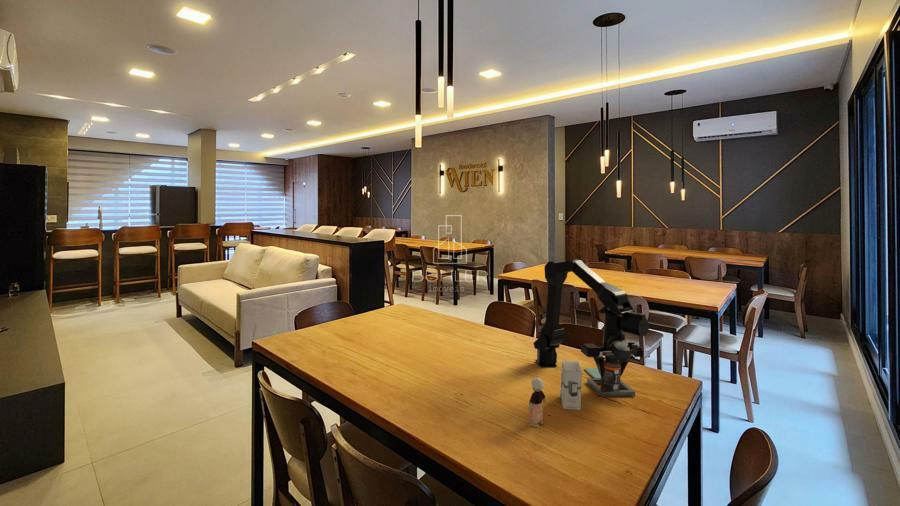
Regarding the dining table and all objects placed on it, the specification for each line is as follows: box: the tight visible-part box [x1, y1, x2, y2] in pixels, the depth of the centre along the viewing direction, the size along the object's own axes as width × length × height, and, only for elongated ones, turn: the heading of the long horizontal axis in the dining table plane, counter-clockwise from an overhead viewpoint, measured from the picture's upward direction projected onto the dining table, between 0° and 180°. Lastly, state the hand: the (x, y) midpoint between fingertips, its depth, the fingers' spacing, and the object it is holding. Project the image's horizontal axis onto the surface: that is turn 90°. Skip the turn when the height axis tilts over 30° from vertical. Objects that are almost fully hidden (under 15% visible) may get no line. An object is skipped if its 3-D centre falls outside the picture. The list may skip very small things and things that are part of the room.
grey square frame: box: [586, 377, 636, 398], centre depth 134 cm, size 11×11×2 cm
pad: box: [584, 367, 601, 378], centre depth 147 cm, size 9×9×1 cm
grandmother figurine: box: [527, 377, 547, 428], centre depth 110 cm, size 8×4×13 cm, turn 145°
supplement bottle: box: [599, 353, 622, 390], centre depth 134 cm, size 6×6×11 cm
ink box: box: [559, 360, 583, 411], centre depth 123 cm, size 9×5×12 cm, turn 172°
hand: (610, 375), depth 134 cm, fingers closed on supplement bottle, 6 cm apart
